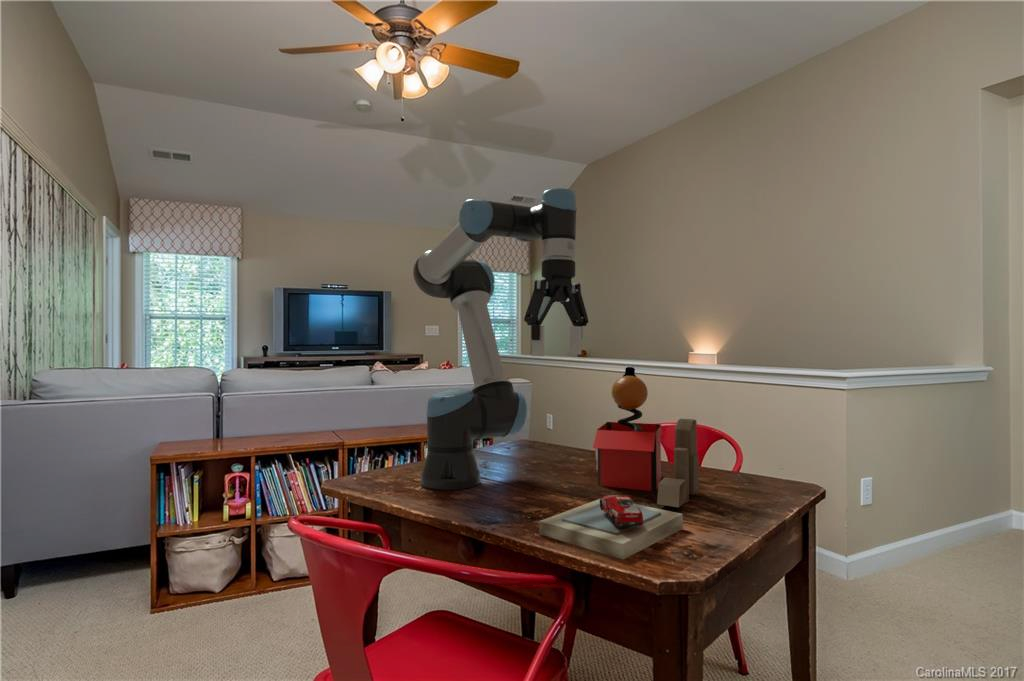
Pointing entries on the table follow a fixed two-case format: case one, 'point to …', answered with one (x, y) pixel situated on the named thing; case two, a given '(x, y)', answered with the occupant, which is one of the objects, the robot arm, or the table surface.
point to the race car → (621, 510)
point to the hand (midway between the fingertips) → (557, 355)
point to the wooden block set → (682, 467)
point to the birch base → (610, 529)
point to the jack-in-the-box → (629, 441)
